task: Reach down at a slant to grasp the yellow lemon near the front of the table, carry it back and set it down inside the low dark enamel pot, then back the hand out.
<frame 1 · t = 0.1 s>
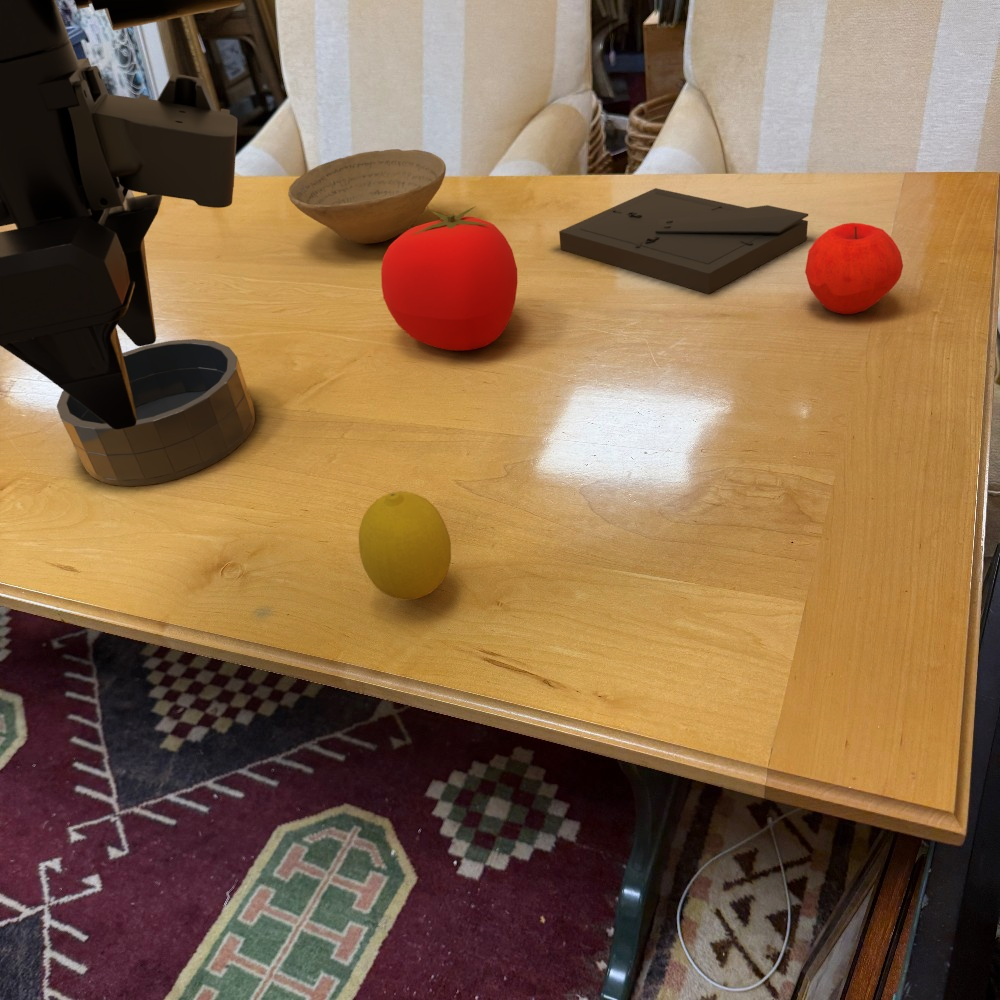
hand: (137, 381, 47), 18 cm above the table, tool pointing down, fingers open, 9 cm apart
lemon: (417, 597, 58), on the table
pot: (170, 436, 78), on the table
tomato: (462, 338, 87), on the table
bowl: (379, 240, 111), on the table
apple: (847, 309, 82), on the table
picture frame: (679, 246, 98), on the table
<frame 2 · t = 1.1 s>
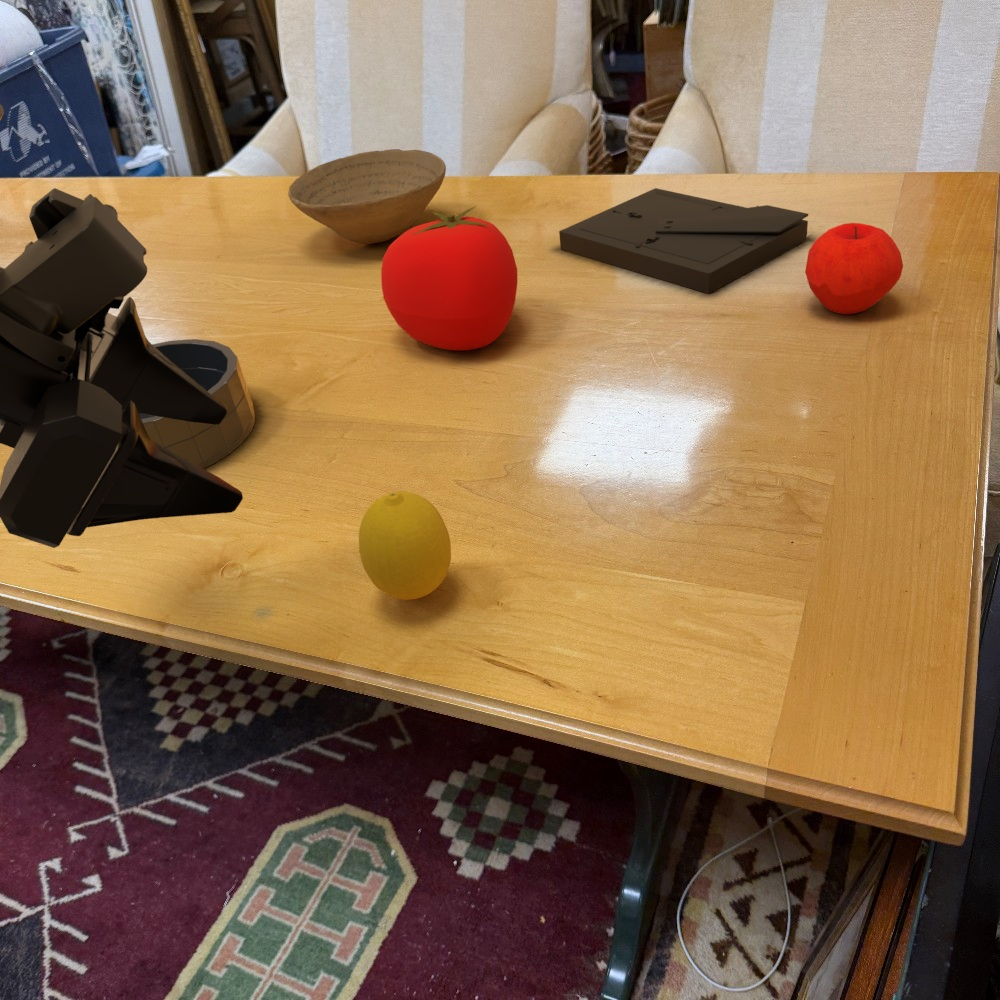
hand: (230, 456, 49), 13 cm above the table, tool tilted 45°, fingers open, 9 cm apart
nothing on the table moved.
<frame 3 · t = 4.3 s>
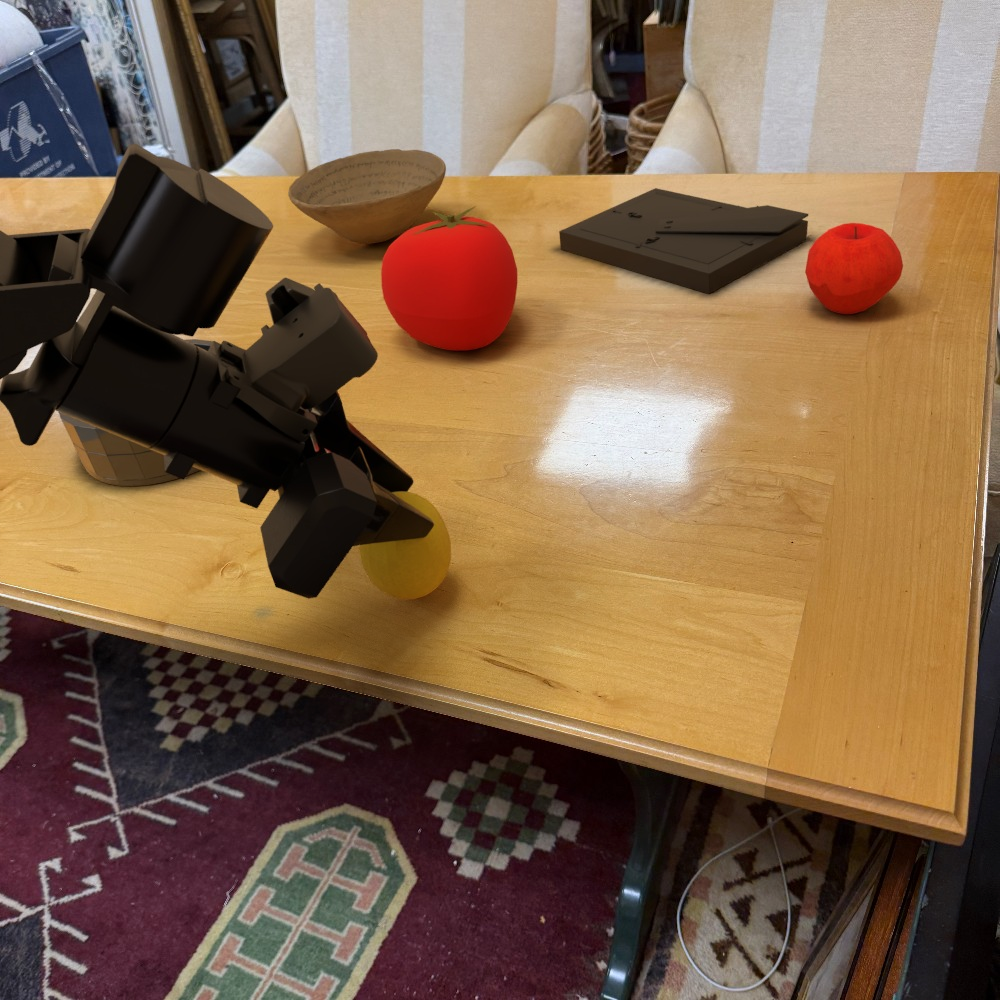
hand: (419, 507, 54), 7 cm above the table, tool tilted 45°, fingers closed on lemon, 4 cm apart
lemon: (417, 597, 58), on the table, touching gripper
everything else where it was.
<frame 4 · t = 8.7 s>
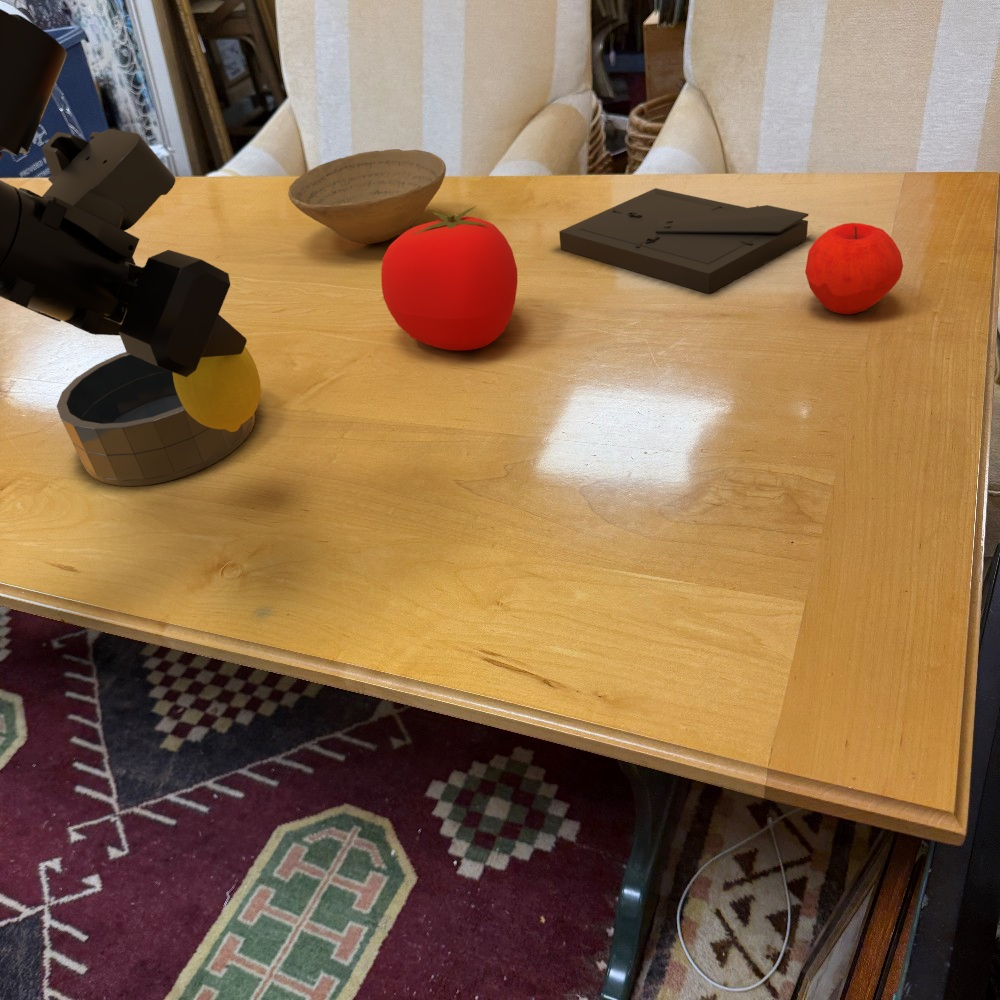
hand: (222, 338, 61), 13 cm above the table, tool tilted 45°, fingers closed on lemon, 4 cm apart
lemon: (235, 433, 64), point 7 cm above the table, touching gripper
everything else where it was.
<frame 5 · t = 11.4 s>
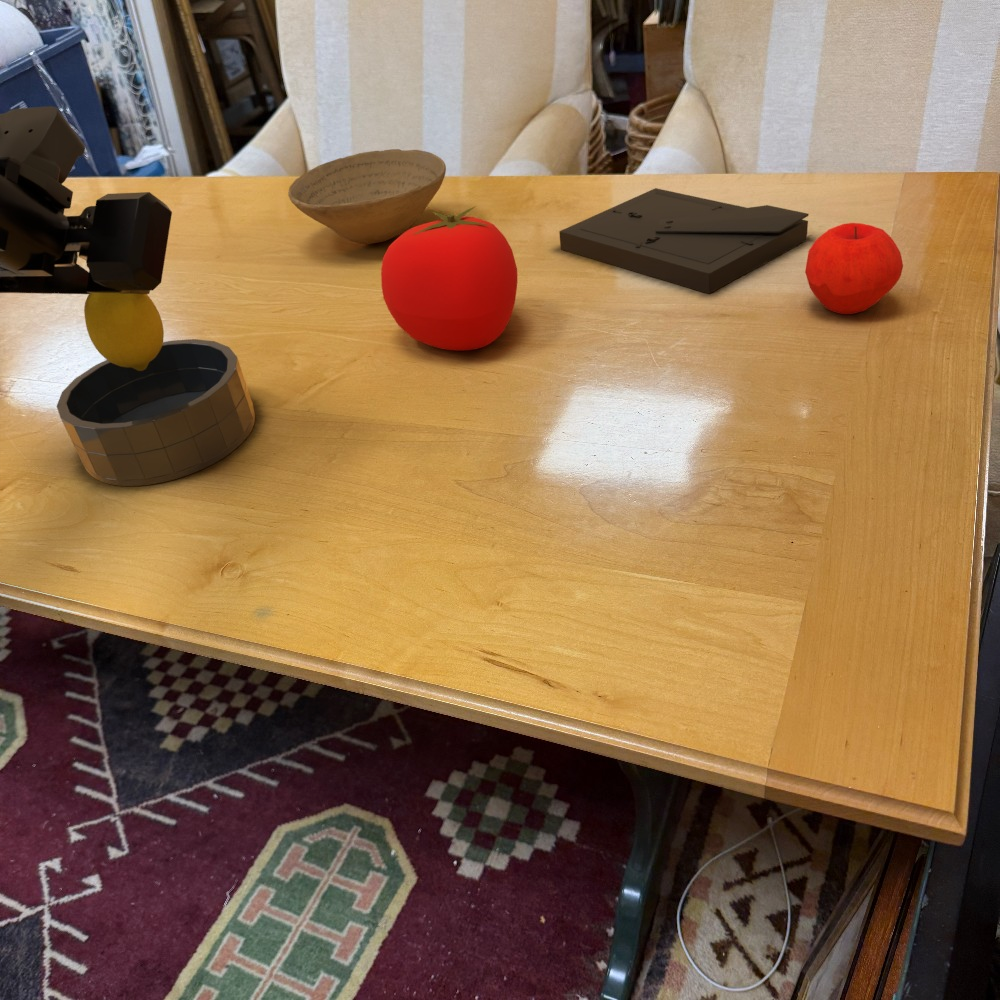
hand: (123, 287, 71), 13 cm above the table, tool tilted 45°, fingers closed on lemon, 4 cm apart
lemon: (143, 372, 74), point 6 cm above the table, touching gripper
everything else where it was.
when the fingers open (7 cm above the table, at t = 13.6 s): lemon stays where it is, resting on pot.
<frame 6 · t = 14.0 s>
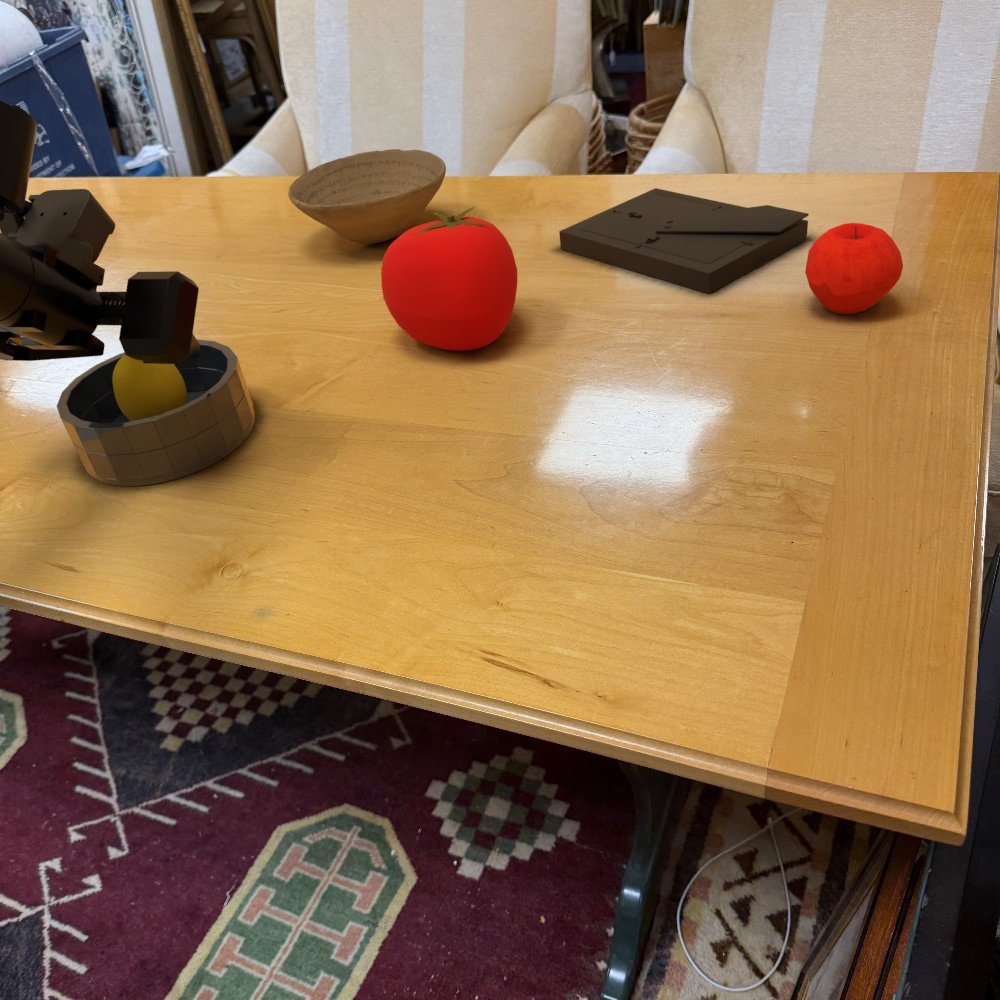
hand: (149, 350, 75), 8 cm above the table, tool tilted 45°, fingers open, 9 cm apart
lemon: (167, 433, 78), resting on pot
everything else where it was.
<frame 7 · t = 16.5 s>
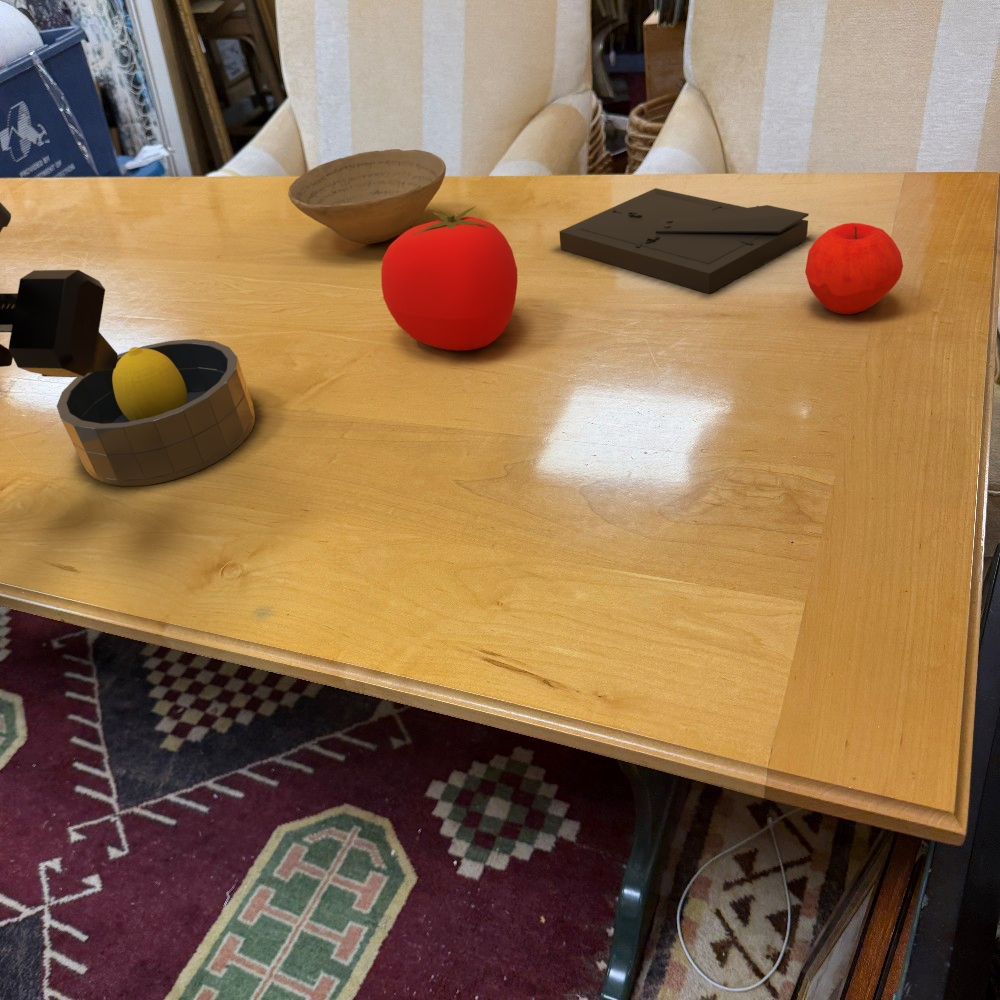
hand: (61, 360, 66), 11 cm above the table, tool tilted 45°, fingers open, 9 cm apart
nothing on the table moved.
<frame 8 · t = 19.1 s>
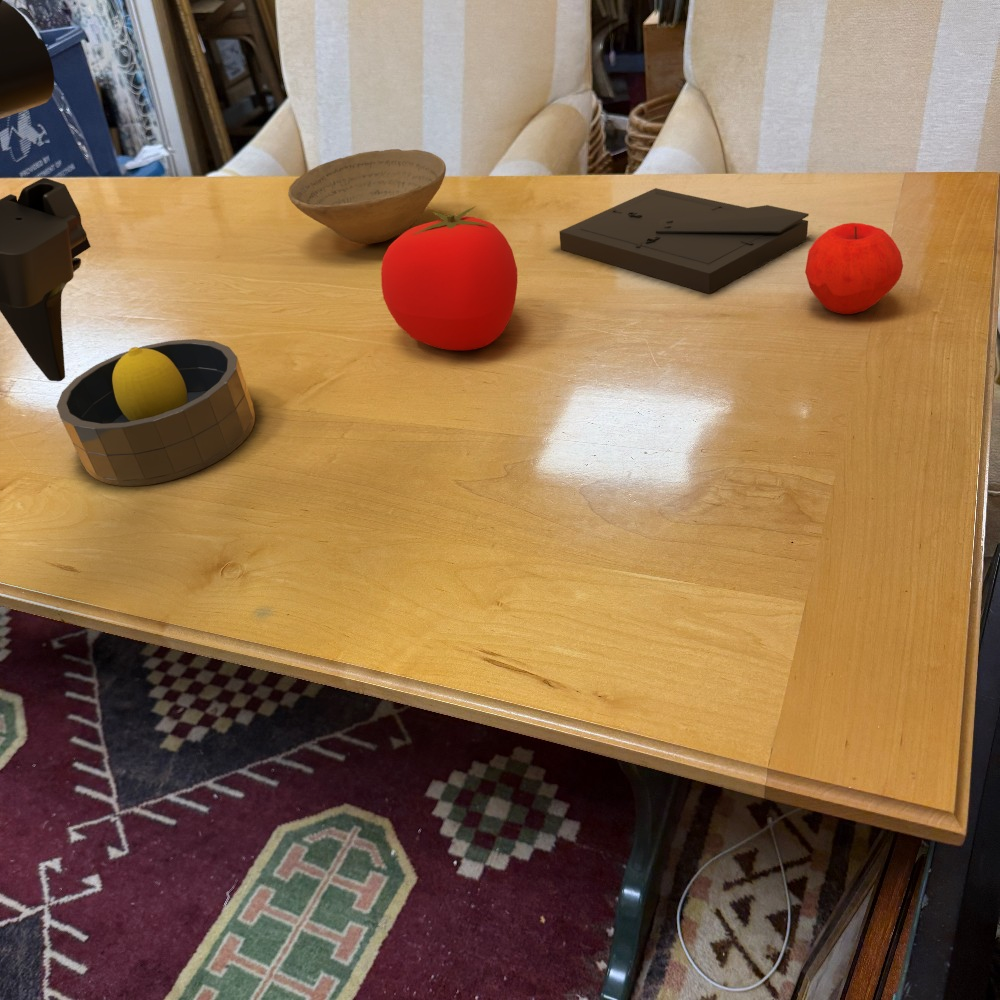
hand: (10, 417, 56), 13 cm above the table, tool pointing down, fingers open, 9 cm apart
nothing on the table moved.
at the end: lemon inside the target area in the pot (0.2 cm from its centre), point 0.4 cm above the pot's base; the gripper is holding nothing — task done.
